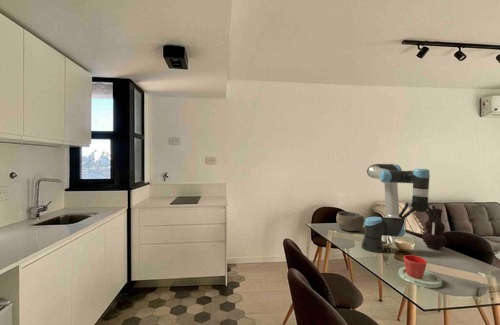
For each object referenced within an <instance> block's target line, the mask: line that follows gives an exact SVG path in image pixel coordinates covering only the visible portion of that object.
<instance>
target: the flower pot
mask: <svg viewBox="0 0 500 325" xmlns="http://www.w3.org/2000/svg"><path fill="white" fill-rule="evenodd" d="M403 262H404V267H405V269H406V274H407V275H408V276H410V277H412V278H416V279H421V278H423V275H424V272H425V270H426V268H427V264H428V263H427V262H428V261H427V260H426V259H424V258H422V257H420V256H418V255H417V256H416V255H413V254H411V255H409V254H408V255H407V254H406V255H404V256H403Z"/></svg>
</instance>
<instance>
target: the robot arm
mask: <svg viewBox="0 0 500 325" xmlns="http://www.w3.org/2000/svg"><path fill="white" fill-rule="evenodd" d="M366 173H367V176H369V177H370V178H372V179H377V180H380V182H381V183H383V184H384V200H385V216H383V218H382V217H381V216H369V217H366V218H364V225H363V226H364V231H363V232H364V236H363V239H362V242H361V244H360V245H361V248H362V249H363V250H365V251H368V252H371V253H383V252H384V251H385V246H384V242H383V240H382V238H383V237H395V238H398V237H399V238H400V237H401V238H402V237H404V236H405V234H406V232H407V231H406V230H407V219H406V218H407V217H409V216H410V215H411V214H412V213H413V212H416V213H418V212H420V213H425V214H426V215H427V217H430V218H431V219H432V220H433V221H434V222H433V223H432V234H433V235H434V230H435V229H437V223H441V222H442V219H441V220H440V218H439V216H438V214H437V212H436V210H435V208H436V206H435V204H432V205H429V192H430V191H429V190H430V175H431V174H430V170H429V169H427V168H415V169H413V170H402V167H401V166H400V165H399V164H395V163H394V164H393V163H374V164H372V165H371V164H370V166H368V167H367V169H366ZM398 184H412V195H411V196H412V200H411V201H412V202H411V203H410V202H407V201H406V202H405V206H403V208H402V210H401V211H400V206H399V205H400V203H399V191H398V190H399V188H398ZM410 206H411V208H410V210H408V208H409V207H410ZM428 208H430V209H432V210H433V212H434V214H435V216H436V218H437V220H435V219H434V217H433V216H432V215H431V214H430V213H429V212H428V211H429V210H428ZM406 210H408V211H407V212H406ZM405 212H406V213H405ZM404 213H405V214H404Z"/></svg>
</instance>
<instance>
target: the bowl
mask: <svg viewBox="0 0 500 325" xmlns="http://www.w3.org/2000/svg"><path fill="white" fill-rule="evenodd" d="M335 219H336V223H337V225H338V226H339V228H340V229H341V230H343V231H347V232H356V231H359V230H362V228H363V227H364V226H365V225H364V224H365V217H364V215H363V214H361V213H357V212H353V211H338V212H337V214H336V217H335Z"/></svg>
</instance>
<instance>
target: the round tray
mask: <svg viewBox="0 0 500 325" xmlns="http://www.w3.org/2000/svg"><path fill="white" fill-rule="evenodd" d="M398 276H399V277H400V278H401V279H402V280H403V281H405V282H406V283H407V282H408V283H409V282H412V283H414V284H415V285H414V284H413V285H414V286H418V287H422V288H425V289H427V288H428V289H437V288H441V287H442V285H443V281H442V278H441V277H440V276H439V275H437V274H436V273H435V272H432V271H429V270H426V269H425V272H424V275H423V278H421V279H416V278H412V277H410V276H408V275H407V274H406V269H405V266H402V267H400V268H398Z"/></svg>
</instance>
